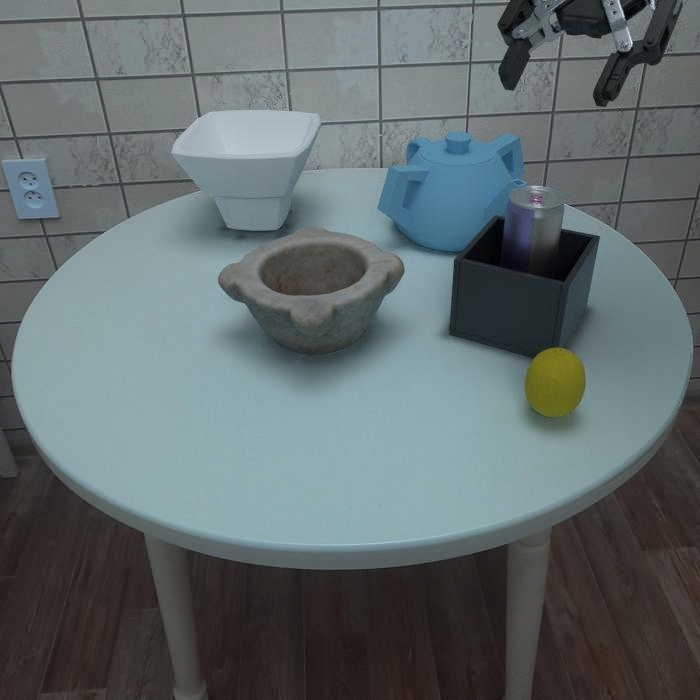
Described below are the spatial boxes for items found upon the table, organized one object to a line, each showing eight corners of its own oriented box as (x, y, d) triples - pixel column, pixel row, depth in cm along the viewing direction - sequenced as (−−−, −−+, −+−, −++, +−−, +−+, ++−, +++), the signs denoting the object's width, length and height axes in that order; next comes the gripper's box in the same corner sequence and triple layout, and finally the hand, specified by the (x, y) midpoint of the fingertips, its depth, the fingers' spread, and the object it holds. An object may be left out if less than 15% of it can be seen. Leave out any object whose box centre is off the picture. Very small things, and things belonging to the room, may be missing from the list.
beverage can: (492, 327, 82) (505, 205, 74) (496, 300, 87) (509, 182, 78) (546, 333, 81) (566, 209, 72) (547, 305, 86) (566, 186, 77)
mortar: (214, 335, 84) (202, 266, 79) (320, 280, 93) (316, 215, 88) (312, 398, 74) (306, 324, 69) (419, 330, 84) (421, 260, 78)
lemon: (509, 415, 71) (517, 348, 66) (543, 390, 74) (553, 325, 69) (556, 443, 68) (568, 375, 63) (589, 416, 71) (604, 349, 66)
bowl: (331, 198, 115) (327, 110, 106) (307, 256, 99) (301, 158, 91) (217, 194, 117) (205, 108, 109) (177, 250, 102) (159, 154, 93)
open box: (586, 309, 86) (600, 235, 81) (555, 364, 78) (569, 286, 72) (487, 285, 91) (494, 214, 86) (448, 334, 83) (453, 259, 77)
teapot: (376, 250, 100) (376, 153, 92) (401, 195, 115) (403, 108, 107) (517, 264, 96) (530, 164, 88) (524, 205, 111) (536, 115, 103)
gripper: (543, -111, 62) (463, 56, 62) (715, -111, 55) (626, 80, 54) (563, -48, 69) (490, 104, 68) (719, -40, 61) (639, 132, 60)
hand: (550, 93), depth 61 cm, fingers open, 8 cm apart
